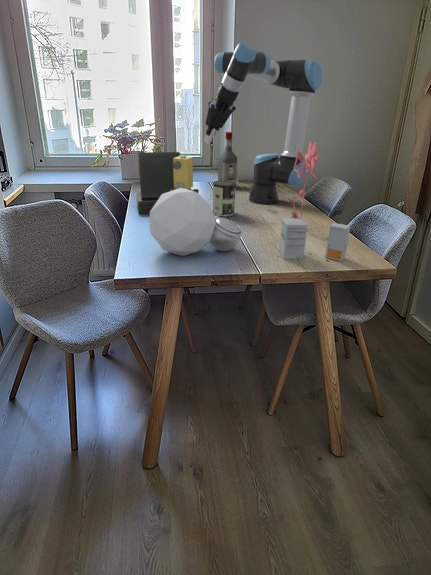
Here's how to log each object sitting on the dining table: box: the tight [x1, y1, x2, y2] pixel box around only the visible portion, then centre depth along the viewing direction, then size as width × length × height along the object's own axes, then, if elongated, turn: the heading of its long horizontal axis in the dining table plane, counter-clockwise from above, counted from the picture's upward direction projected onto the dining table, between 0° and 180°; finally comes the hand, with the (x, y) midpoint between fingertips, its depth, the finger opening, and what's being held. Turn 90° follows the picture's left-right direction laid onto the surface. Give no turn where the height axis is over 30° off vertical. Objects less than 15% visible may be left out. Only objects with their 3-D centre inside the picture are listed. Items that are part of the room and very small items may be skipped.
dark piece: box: [136, 151, 181, 215], centre depth 201 cm, size 23×20×25 cm
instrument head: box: [173, 154, 194, 189], centre depth 177 cm, size 6×9×13 cm, turn 159°
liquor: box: [217, 131, 238, 188], centre depth 241 cm, size 9×9×30 cm
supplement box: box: [278, 218, 308, 260], centre depth 151 cm, size 7×7×13 cm
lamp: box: [148, 188, 242, 257], centre depth 151 cm, size 22×34×24 cm, turn 100°
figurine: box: [289, 141, 323, 233], centre depth 175 cm, size 15×26×35 cm, turn 6°
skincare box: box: [325, 222, 351, 262], centre depth 150 cm, size 6×4×12 cm
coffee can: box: [212, 180, 237, 217], centre depth 197 cm, size 10×10×14 cm
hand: (206, 141), depth 178 cm, fingers closed
